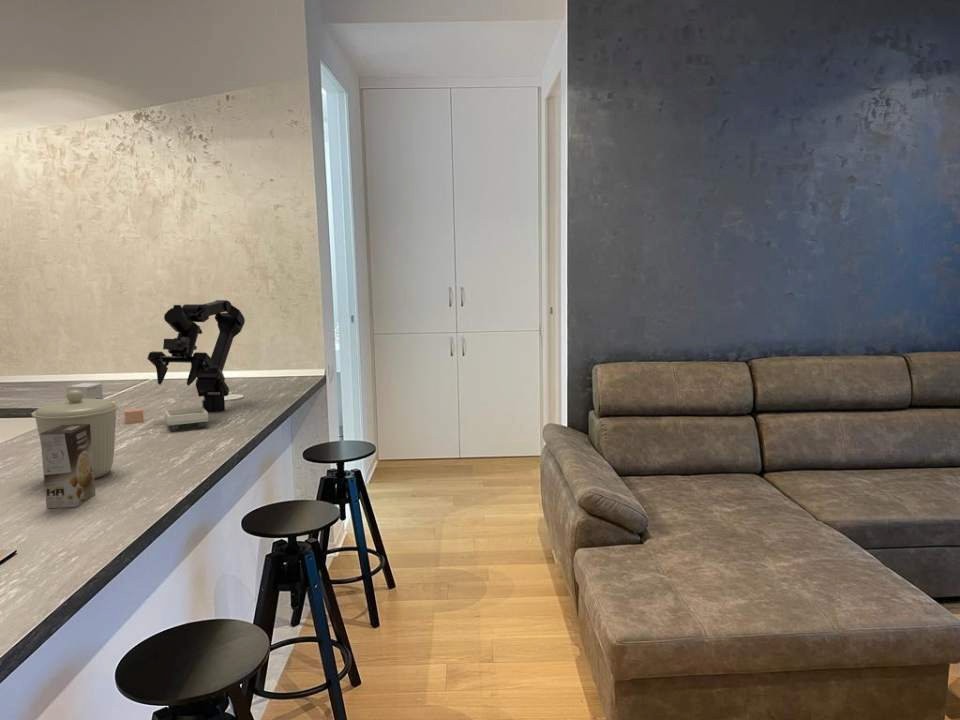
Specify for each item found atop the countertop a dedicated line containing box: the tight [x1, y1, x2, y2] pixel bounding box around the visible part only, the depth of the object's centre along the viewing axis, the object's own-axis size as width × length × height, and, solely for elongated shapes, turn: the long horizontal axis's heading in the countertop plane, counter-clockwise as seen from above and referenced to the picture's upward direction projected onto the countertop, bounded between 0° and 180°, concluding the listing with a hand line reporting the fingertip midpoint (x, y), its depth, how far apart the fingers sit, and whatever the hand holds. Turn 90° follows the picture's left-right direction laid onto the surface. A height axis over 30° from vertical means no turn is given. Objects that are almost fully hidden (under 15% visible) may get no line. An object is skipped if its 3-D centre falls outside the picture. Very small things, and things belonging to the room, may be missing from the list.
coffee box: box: [39, 424, 96, 509], centre depth 155 cm, size 9×6×16 cm
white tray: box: [164, 406, 209, 432], centre depth 221 cm, size 11×11×5 cm
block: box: [123, 407, 145, 425], centre depth 229 cm, size 5×5×5 cm
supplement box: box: [66, 382, 104, 399], centre depth 232 cm, size 7×7×13 cm
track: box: [130, 423, 209, 437], centre depth 219 cm, size 21×12×1 cm, turn 119°
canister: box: [31, 390, 119, 480], centre depth 173 cm, size 18×18×21 cm
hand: (173, 384), depth 221 cm, fingers open, 9 cm apart
